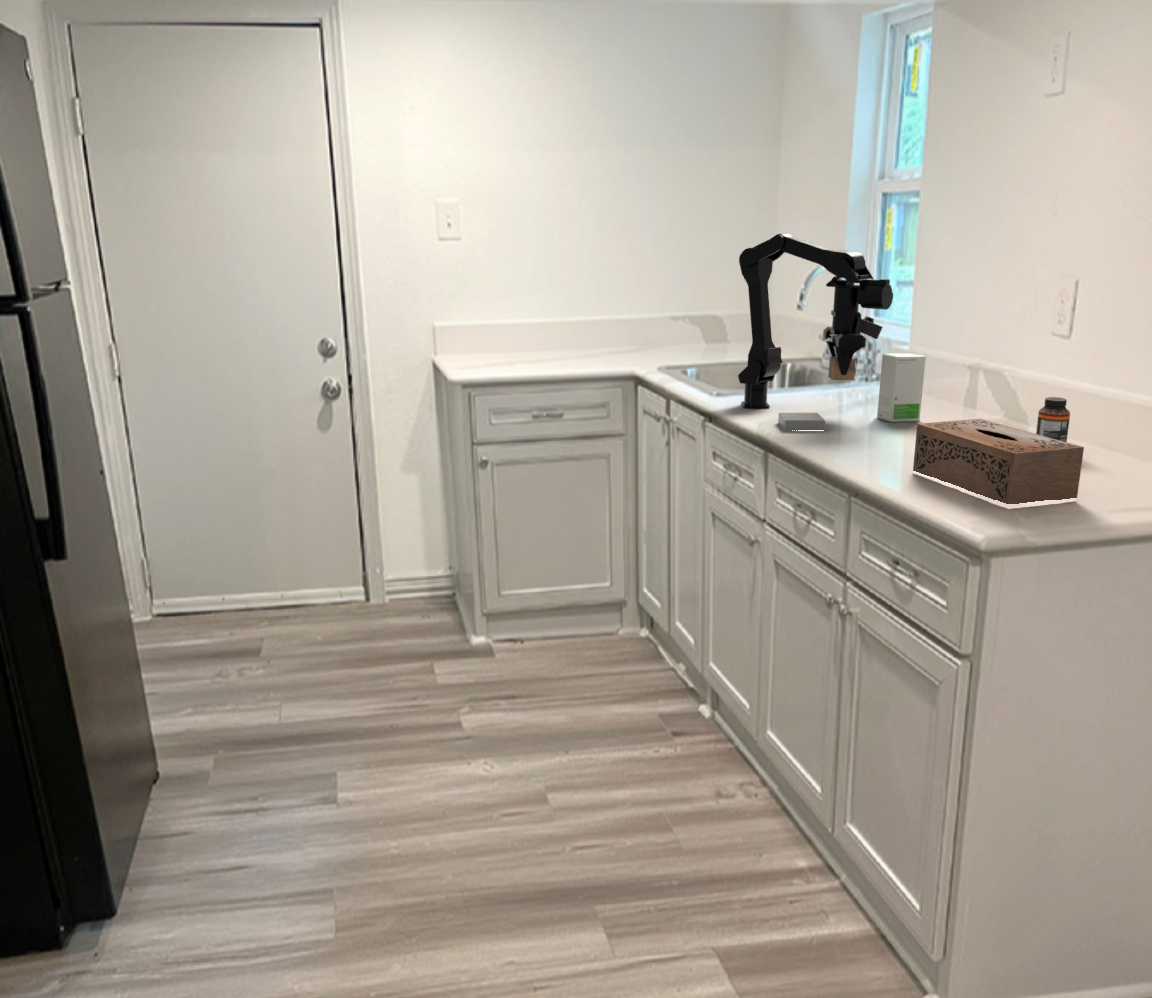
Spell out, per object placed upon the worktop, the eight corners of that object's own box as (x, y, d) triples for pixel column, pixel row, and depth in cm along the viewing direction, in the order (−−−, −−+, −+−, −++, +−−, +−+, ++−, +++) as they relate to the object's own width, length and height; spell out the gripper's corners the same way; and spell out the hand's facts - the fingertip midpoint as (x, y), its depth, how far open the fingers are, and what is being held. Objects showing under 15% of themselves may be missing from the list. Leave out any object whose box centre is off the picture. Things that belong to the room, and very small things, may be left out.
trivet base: (778, 425, 240) (778, 412, 239) (816, 425, 240) (817, 412, 239) (784, 433, 232) (785, 420, 231) (824, 433, 231) (825, 420, 230)
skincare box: (890, 422, 240) (895, 357, 236) (875, 417, 246) (880, 353, 242) (921, 421, 242) (927, 355, 238) (905, 415, 249) (911, 352, 244)
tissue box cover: (1076, 503, 175) (1084, 447, 173) (1008, 511, 171) (1014, 453, 168) (974, 468, 199) (980, 418, 196) (912, 475, 194) (917, 423, 192)
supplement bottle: (1038, 447, 215) (1045, 394, 212) (1068, 451, 211) (1075, 398, 208) (1030, 452, 211) (1036, 398, 208) (1060, 457, 207) (1067, 402, 204)
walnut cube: (828, 376, 246) (829, 356, 244) (849, 376, 245) (850, 356, 244) (832, 380, 241) (834, 359, 239) (854, 380, 241) (855, 359, 239)
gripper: (891, 310, 229) (885, 379, 233) (870, 303, 247) (865, 367, 251) (841, 310, 230) (836, 379, 234) (824, 303, 248) (820, 367, 252)
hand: (841, 373), depth 243 cm, fingers closed on walnut cube, 5 cm apart
